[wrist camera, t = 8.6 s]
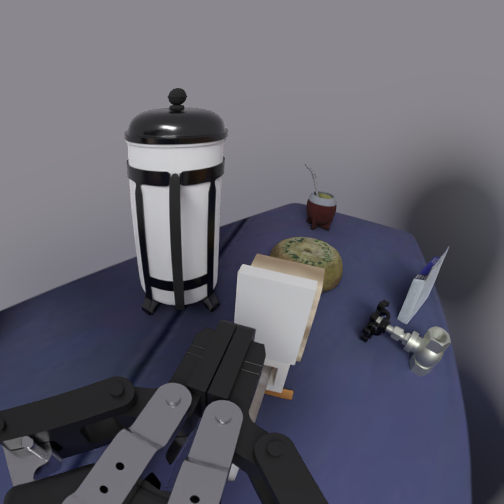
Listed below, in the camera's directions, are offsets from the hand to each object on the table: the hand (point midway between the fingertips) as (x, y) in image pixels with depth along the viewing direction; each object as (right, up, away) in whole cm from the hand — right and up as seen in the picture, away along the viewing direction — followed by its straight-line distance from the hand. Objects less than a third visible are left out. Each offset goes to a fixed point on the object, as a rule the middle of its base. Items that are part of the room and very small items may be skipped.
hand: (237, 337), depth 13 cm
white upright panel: (+2, -10, +19) cm, 21 cm away
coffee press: (-10, -3, +33) cm, 35 cm away
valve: (+22, -11, +26) cm, 35 cm away
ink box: (+29, -6, +35) cm, 46 cm away
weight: (+10, 0, +42) cm, 43 cm away
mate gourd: (+16, +10, +59) cm, 62 cm away
